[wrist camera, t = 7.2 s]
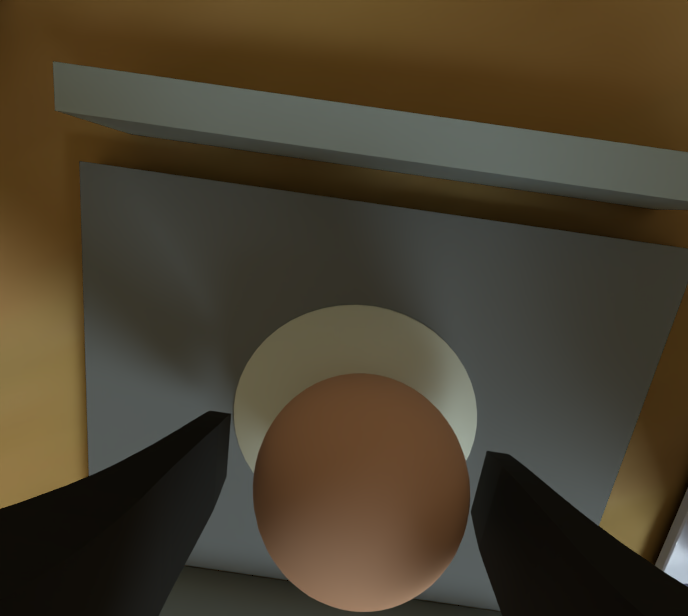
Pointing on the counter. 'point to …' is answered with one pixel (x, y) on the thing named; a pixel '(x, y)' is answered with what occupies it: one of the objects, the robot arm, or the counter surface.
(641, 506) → the counter surface
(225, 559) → the mat
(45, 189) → the counter surface
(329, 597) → the ball
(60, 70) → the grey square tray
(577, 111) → the counter surface
